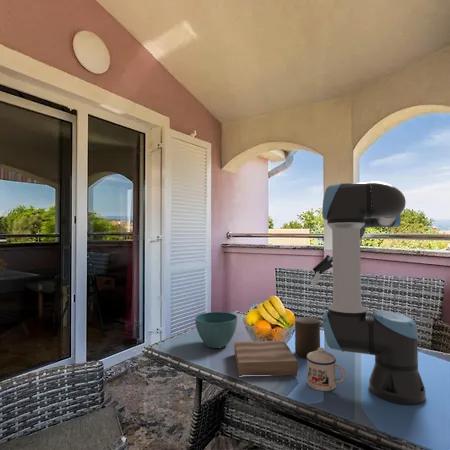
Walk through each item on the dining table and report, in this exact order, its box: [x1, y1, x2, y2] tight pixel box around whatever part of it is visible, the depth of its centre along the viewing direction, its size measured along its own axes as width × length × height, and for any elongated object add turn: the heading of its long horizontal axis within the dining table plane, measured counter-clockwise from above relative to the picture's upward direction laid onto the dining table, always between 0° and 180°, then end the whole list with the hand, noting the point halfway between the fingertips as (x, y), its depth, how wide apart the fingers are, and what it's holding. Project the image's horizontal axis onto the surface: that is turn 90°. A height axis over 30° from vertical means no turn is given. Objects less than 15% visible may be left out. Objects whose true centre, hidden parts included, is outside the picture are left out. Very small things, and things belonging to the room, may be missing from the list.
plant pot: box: [194, 311, 238, 349], centre depth 141 cm, size 18×18×12 cm
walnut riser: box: [233, 340, 298, 377], centre depth 120 cm, size 20×20×5 cm
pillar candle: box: [294, 316, 321, 360], centre depth 129 cm, size 10×10×15 cm
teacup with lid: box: [306, 347, 346, 392], centre depth 103 cm, size 12×9×12 cm
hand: (325, 287), depth 136 cm, fingers open, 13 cm apart
